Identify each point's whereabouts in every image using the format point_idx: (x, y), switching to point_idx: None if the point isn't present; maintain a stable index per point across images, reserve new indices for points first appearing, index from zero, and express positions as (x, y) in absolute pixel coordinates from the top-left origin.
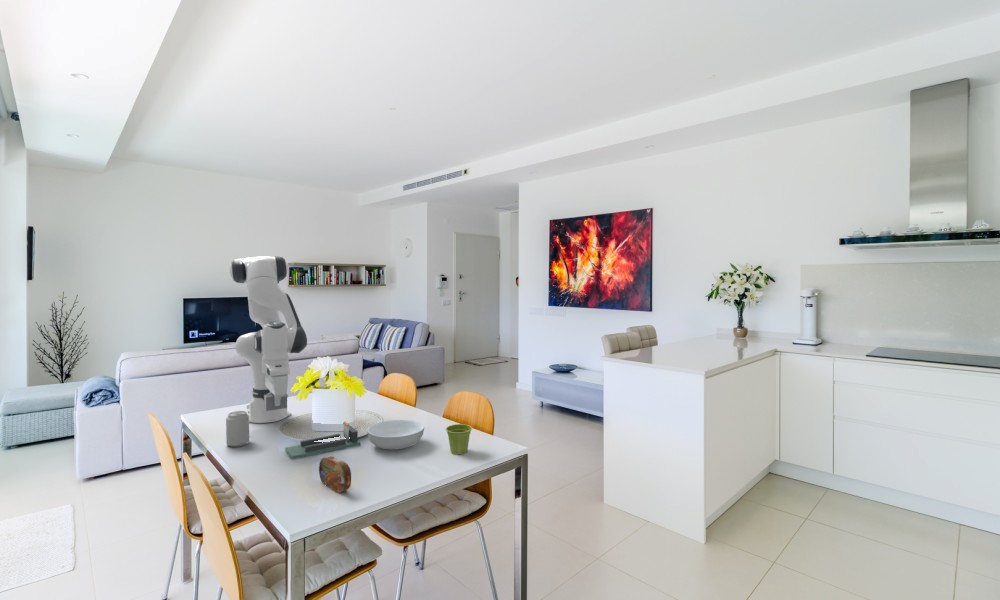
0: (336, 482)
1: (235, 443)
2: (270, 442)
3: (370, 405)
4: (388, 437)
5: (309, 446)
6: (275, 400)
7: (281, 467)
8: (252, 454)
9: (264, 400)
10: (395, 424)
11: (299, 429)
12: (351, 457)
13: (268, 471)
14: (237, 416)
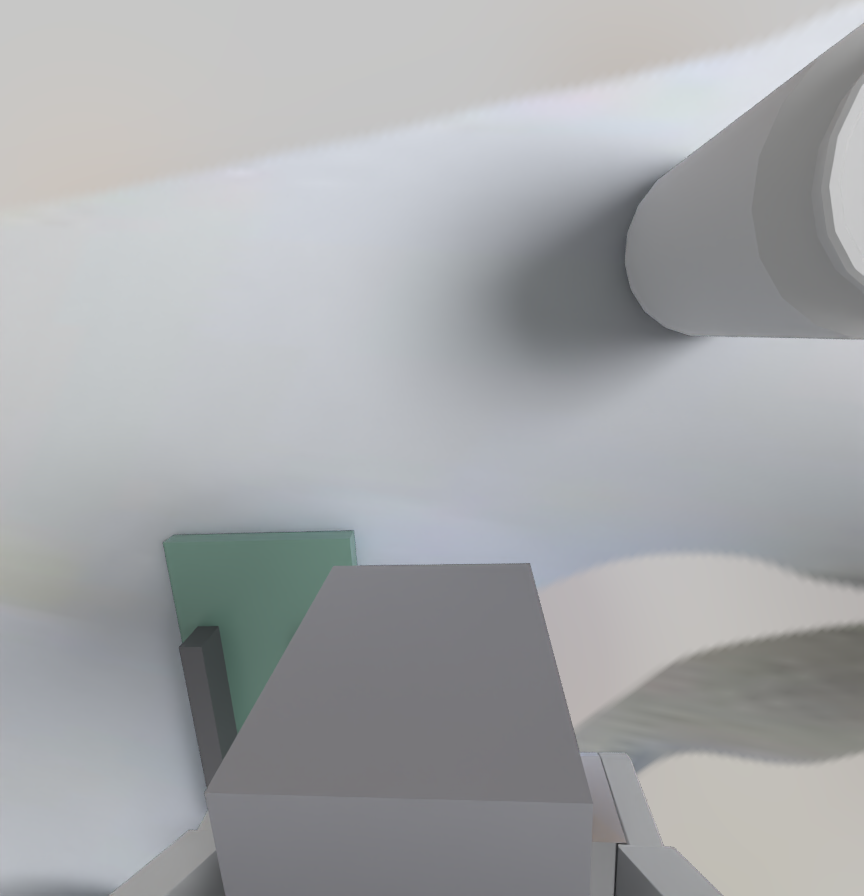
0: None
1: (637, 218)
2: (586, 473)
3: None
4: None
5: (187, 668)
6: (156, 868)
7: (65, 464)
8: (390, 331)
9: (502, 669)
10: None
11: (759, 685)
12: (72, 788)
13: (29, 389)
14: (820, 158)
